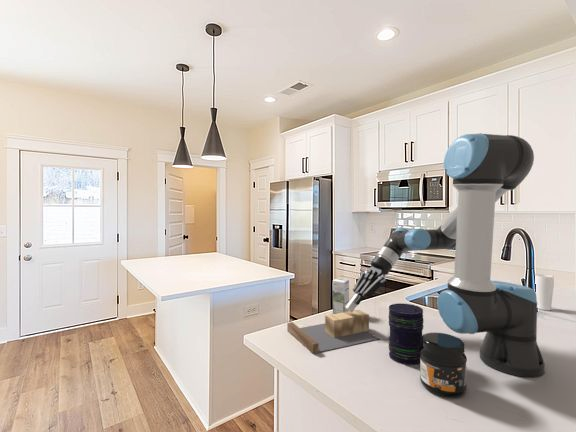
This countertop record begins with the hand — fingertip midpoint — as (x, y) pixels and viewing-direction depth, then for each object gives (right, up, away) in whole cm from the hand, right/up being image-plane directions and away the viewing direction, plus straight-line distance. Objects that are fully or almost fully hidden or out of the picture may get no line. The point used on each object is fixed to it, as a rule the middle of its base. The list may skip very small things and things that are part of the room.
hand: (348, 309), depth 112 cm
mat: (-6, -8, -2) cm, 10 cm away
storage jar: (+13, -8, -20) cm, 25 cm away
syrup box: (+1, -8, +21) cm, 22 cm away
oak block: (+6, -5, +3) cm, 8 cm away
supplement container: (+17, -9, -35) cm, 40 cm away
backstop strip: (-18, -8, -8) cm, 21 cm away
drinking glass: (+91, -7, +23) cm, 95 cm away
